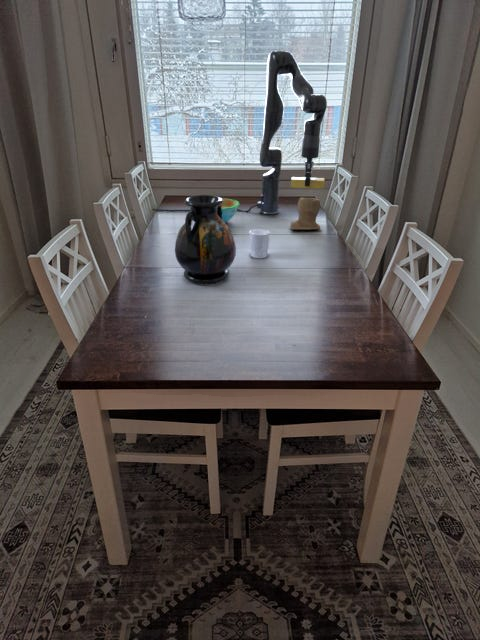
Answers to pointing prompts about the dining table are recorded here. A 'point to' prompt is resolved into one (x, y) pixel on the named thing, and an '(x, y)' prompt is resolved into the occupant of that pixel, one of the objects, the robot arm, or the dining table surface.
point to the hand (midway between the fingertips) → (307, 184)
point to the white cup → (259, 243)
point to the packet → (314, 182)
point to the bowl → (228, 209)
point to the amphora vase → (205, 242)
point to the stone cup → (307, 214)
